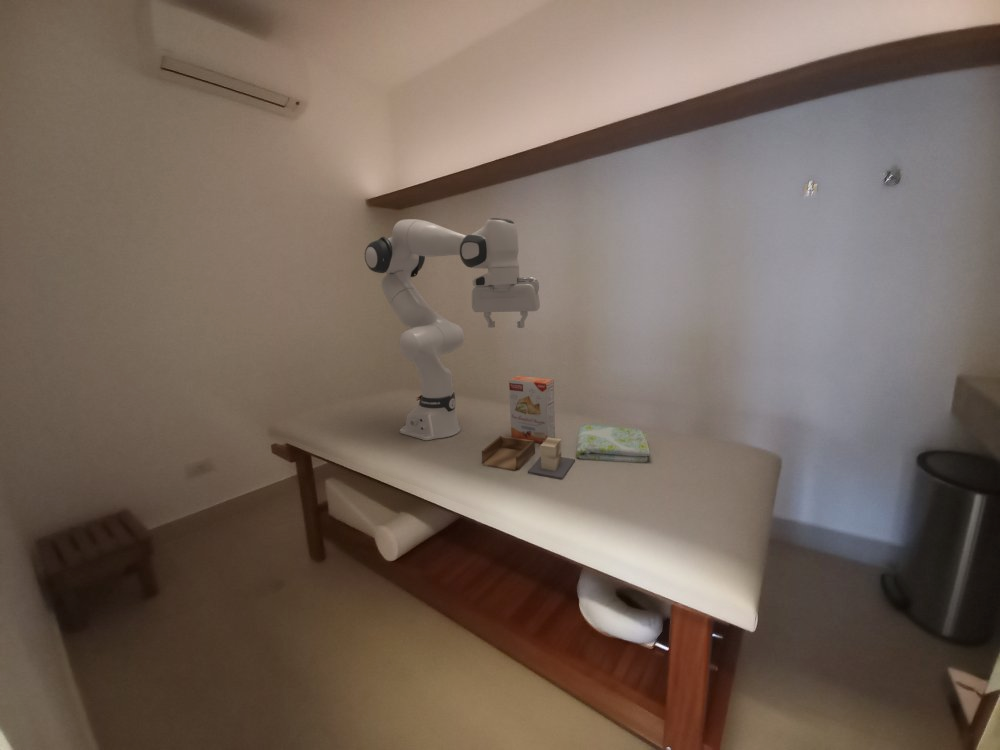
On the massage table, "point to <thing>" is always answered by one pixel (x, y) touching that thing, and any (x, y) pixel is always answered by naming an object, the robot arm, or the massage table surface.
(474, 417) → the massage table surface
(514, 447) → the shelf bay
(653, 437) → the massage table surface
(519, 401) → the cracker box
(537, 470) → the mat
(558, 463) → the block
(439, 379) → the robot arm
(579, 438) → the towel
